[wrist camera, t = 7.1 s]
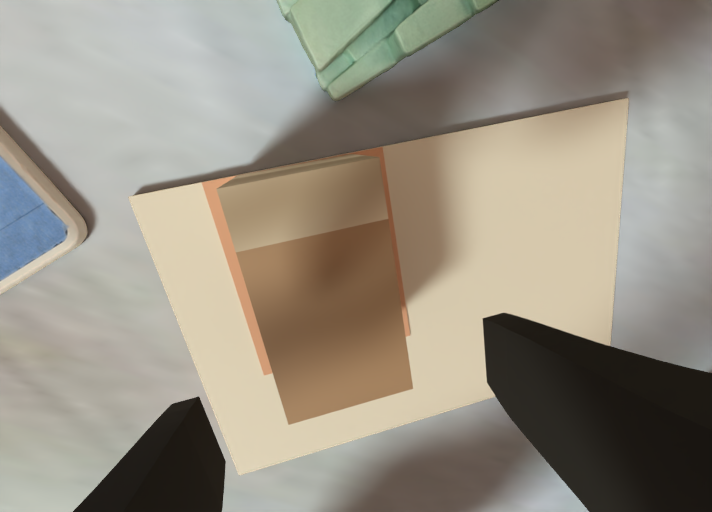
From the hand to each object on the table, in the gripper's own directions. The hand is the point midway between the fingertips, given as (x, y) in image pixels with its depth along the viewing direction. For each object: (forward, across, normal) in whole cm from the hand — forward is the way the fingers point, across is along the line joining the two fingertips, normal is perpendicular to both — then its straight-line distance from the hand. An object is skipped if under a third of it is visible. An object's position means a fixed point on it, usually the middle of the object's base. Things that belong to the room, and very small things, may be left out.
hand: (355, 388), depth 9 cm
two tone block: (+9, 0, -1) cm, 9 cm away
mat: (+9, -5, +3) cm, 11 cm away
